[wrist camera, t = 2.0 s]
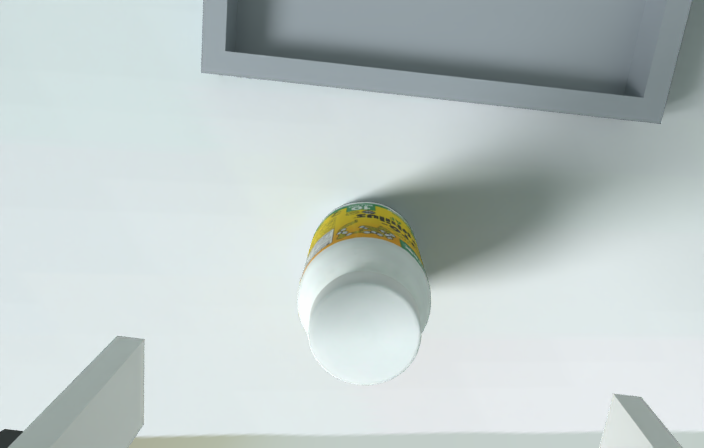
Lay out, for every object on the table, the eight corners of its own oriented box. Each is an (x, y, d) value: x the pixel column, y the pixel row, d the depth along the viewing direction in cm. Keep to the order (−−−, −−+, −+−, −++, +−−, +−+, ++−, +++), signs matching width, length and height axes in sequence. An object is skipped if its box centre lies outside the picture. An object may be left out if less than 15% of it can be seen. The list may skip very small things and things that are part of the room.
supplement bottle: (292, 260, 29) (256, 350, 20) (352, 177, 28) (344, 232, 18) (376, 316, 30) (380, 428, 20) (438, 238, 28) (472, 320, 19)
